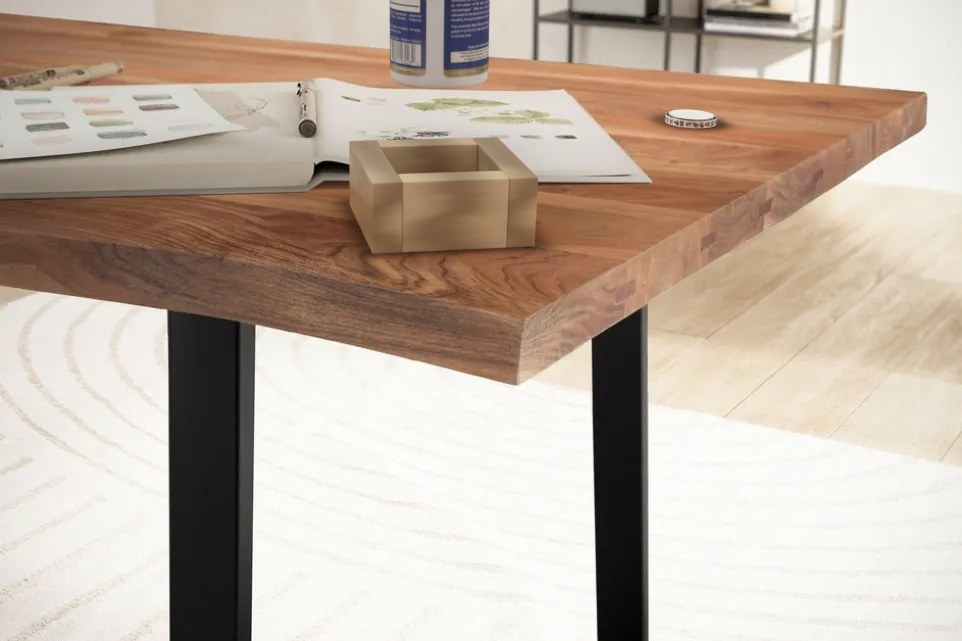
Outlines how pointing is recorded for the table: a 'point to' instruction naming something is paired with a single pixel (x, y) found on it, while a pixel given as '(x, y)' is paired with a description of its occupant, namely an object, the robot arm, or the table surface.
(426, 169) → the holder
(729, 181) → the table surface
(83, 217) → the table surface
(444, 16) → the pill bottle
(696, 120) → the washi tape
